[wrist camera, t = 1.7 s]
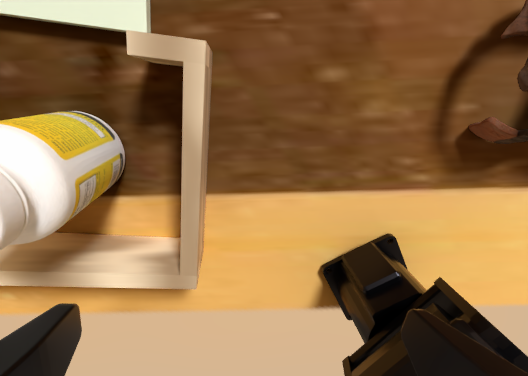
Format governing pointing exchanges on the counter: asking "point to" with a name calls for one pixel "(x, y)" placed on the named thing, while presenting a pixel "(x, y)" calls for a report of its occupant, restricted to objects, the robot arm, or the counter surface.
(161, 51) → the open frame
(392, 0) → the counter surface
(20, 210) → the supplement bottle
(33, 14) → the pad
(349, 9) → the counter surface
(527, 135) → the brown curved piece
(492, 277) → the counter surface
